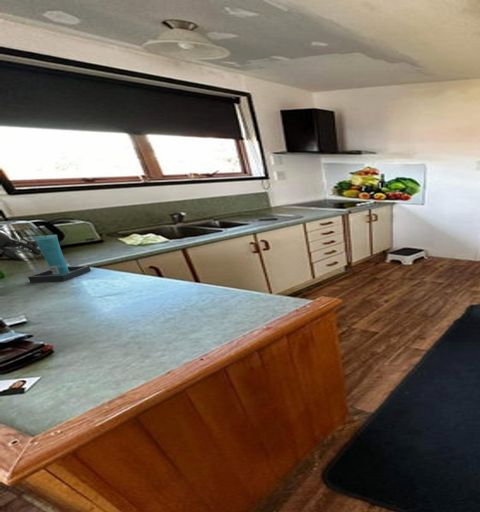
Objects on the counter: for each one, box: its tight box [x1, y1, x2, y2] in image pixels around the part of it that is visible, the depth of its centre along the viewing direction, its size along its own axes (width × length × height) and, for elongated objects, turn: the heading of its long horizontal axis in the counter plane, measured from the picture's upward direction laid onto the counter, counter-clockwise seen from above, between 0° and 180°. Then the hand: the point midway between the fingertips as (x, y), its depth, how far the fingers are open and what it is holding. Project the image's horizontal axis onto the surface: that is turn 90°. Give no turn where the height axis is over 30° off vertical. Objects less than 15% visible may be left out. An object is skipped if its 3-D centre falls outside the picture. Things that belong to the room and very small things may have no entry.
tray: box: [27, 265, 92, 283], centre depth 128 cm, size 15×13×3 cm
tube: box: [32, 234, 69, 275], centre depth 125 cm, size 7×5×19 cm, turn 123°
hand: (26, 254), depth 114 cm, fingers open, 8 cm apart
